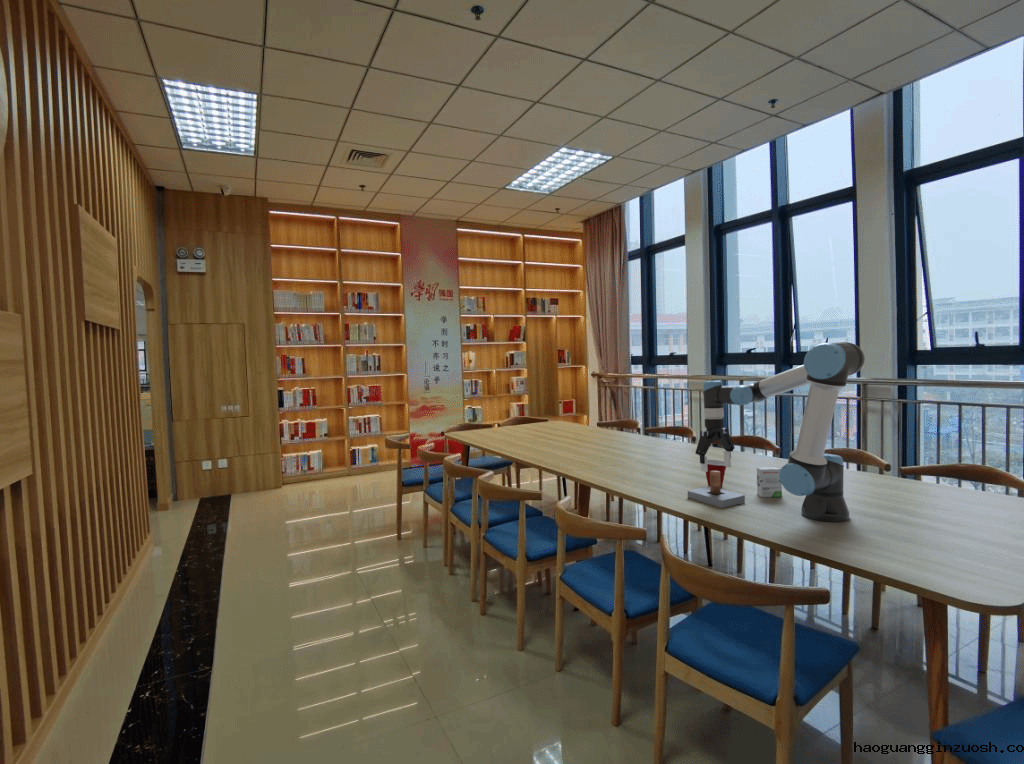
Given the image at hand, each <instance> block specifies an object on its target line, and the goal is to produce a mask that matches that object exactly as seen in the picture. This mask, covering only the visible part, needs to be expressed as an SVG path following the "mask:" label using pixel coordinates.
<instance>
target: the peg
mask: <svg viewBox="0 0 1024 764" xmlns="http://www.w3.org/2000/svg"><path fill="white" fill-rule="evenodd" d="M721 489H722V488H721V486H720V471H710V494H712V495H716V496H717V495H721Z"/></svg>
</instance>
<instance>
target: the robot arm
mask: <svg viewBox="0 0 1024 764" xmlns="http://www.w3.org/2000/svg"><path fill="white" fill-rule="evenodd" d="M865 358H866V357H865V354H864V351H863V350H862V348H860V346H859V345H856V344H855V343H852V342H848V341H843V342H842V341H841V342H822V343H820V344H817V345H814V346H812V347H811V348H810V349H808V351H807V352H806V354H805V356H804V359H803V364H802V365H799V366H795V367H793V368H790V369H787V370H785V371H782V372H780V373H777V374H774V375H772V376H769V377H767V378H764V379H761V380H759V381H755V382H752V383H748V384H737V385H724V384H723V380H706V381H704V382H703V386H702V393H703V409H704V410H703V413H704V414H703V415H704V417H705V418H704V428H705V429H706V430H701V431H700V434H699V435H700V436H699V440H698V442H697V443H698V444H697V447H696V450H695V455H697V456H699V463H700V470H701V472H705V473H706V472H708V469H707V460H708V455H706V454H707V452H708V450H709V449H710V446H711V445H712V443H713V442H716V441H718V442H719V444H720V445H721V446H722V448H723V449H724V450H723V461H724V466H725V467H726V468H731V467H732V464H731V463H732V460H731V459H732V452H734V450H735V444H734V442H733V440H732V438H731V435H730V432H729V431H730V430H729V428H727V427H725V419H724V417H725V415H724V414H725V413H724V409H725V408H724V405H735V406H744V405H745V406H746V405H748V404H750V403H760V402H763V401H765V400H767V399H769V398H771V397H774V396H778V395H781V394H783V393H787V392H790V391H793V390H796V389H799V388H801V387H802V388H803V387H806V386H807V385H809V389H808V394H807V399H806V403H805V406H804V407H805V408H804V412H803V417H802V420H801V425H800V429H799V433H798V439H797V443H796V447H795V449H794V450H792V451H791V452H789V456H788V460H787V463H785V464H784V465H783V466H781V468H780V469H781V470H780V472H779V478H780V482H781V484H782V487H783V488H784V489H785V490H786V491H787V492H788V493H789V494H791V495H795V496H796V497H797V496H798V497H804V496H805V497H804V499H803V502H802V505H801V514H802V515H803V516H804V517H806V518H809V519H812V520H815V521H822V522H831V523H832V522H833V523H834V522H835V523H837V522H838V523H839V522H845V521H848V520H849V519H850V511H849V508H848V504H847V502H846V499H845V496H844V468H845V465H844V459H843V457H842V456H841V455H838V454H832V453H826V452H825V450H826V447H827V443H828V438H829V434H830V430H831V425H832V423H833V422H832V421H833V416H834V413H835V408H836V406H837V405H836V404H837V401H838V396H839V392H840V390H841V389H844V388H845V387H846V386H847V382H848V379H849V376H852V375H855V374H857V373H858V372H859V371H860V370H862V368H863V366H864V364H865V360H866V359H865Z"/></svg>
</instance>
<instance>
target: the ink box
mask: <svg viewBox="0 0 1024 764" xmlns="http://www.w3.org/2000/svg"><path fill="white" fill-rule="evenodd" d="M780 470H781V468H779V467H776V466H775V467H769V466H768V467H756V490H757V491H756V495H758V496H759V497H760V498H783V488H782V487H783V485H782V484H781V482H780V478H779V472H780Z"/></svg>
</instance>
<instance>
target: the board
mask: <svg viewBox="0 0 1024 764" xmlns="http://www.w3.org/2000/svg"><path fill="white" fill-rule="evenodd" d="M687 499H691V500H694V501H697V502H700V503H704V504H707V505H710V506H711V505H712V506H715V507H718V508H720V509H723V508H724V509H725V508H728V507H732V506H736V505H740V504H745V503H746V501H745V499H746V498H745V495H744V494H740V493H739V492H738V493H737V492H733V491H730V490H726V489H722V488H721V495H717V496H716V495H712V494H710V486H708V485H707V486H705V487H704V486H703V487H699V488H695V489H690V490H687Z"/></svg>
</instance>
